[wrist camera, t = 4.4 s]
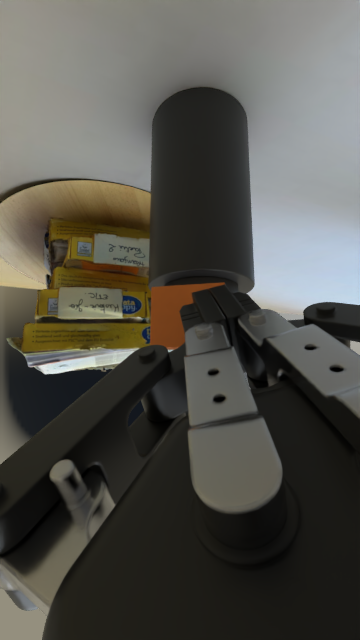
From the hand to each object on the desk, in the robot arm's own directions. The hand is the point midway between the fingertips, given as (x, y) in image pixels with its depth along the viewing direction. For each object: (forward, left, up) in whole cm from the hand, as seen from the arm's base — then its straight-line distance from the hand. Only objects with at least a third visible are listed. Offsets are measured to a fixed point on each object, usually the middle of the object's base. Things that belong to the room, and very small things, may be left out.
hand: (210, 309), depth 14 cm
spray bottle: (+4, -5, -15) cm, 16 cm away
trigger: (+1, -2, -2) cm, 3 cm away
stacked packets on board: (+7, -26, -15) cm, 31 cm away
